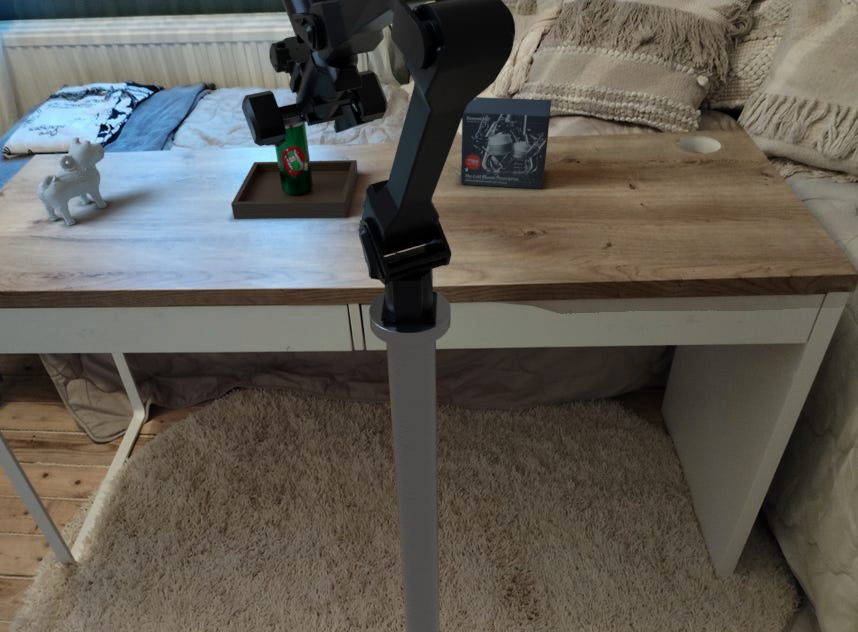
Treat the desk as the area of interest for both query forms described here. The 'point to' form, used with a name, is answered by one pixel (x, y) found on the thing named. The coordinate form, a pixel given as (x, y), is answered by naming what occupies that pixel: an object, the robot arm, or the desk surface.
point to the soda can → (295, 161)
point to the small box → (505, 142)
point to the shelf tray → (270, 201)
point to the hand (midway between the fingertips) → (306, 136)
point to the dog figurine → (73, 180)
